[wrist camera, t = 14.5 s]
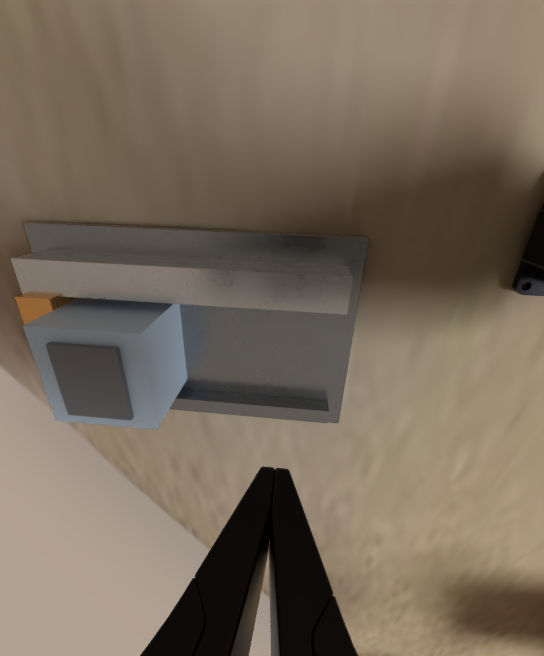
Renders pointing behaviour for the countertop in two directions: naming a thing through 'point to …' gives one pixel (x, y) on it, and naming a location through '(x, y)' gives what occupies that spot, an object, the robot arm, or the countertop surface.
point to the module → (110, 360)
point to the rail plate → (244, 335)
